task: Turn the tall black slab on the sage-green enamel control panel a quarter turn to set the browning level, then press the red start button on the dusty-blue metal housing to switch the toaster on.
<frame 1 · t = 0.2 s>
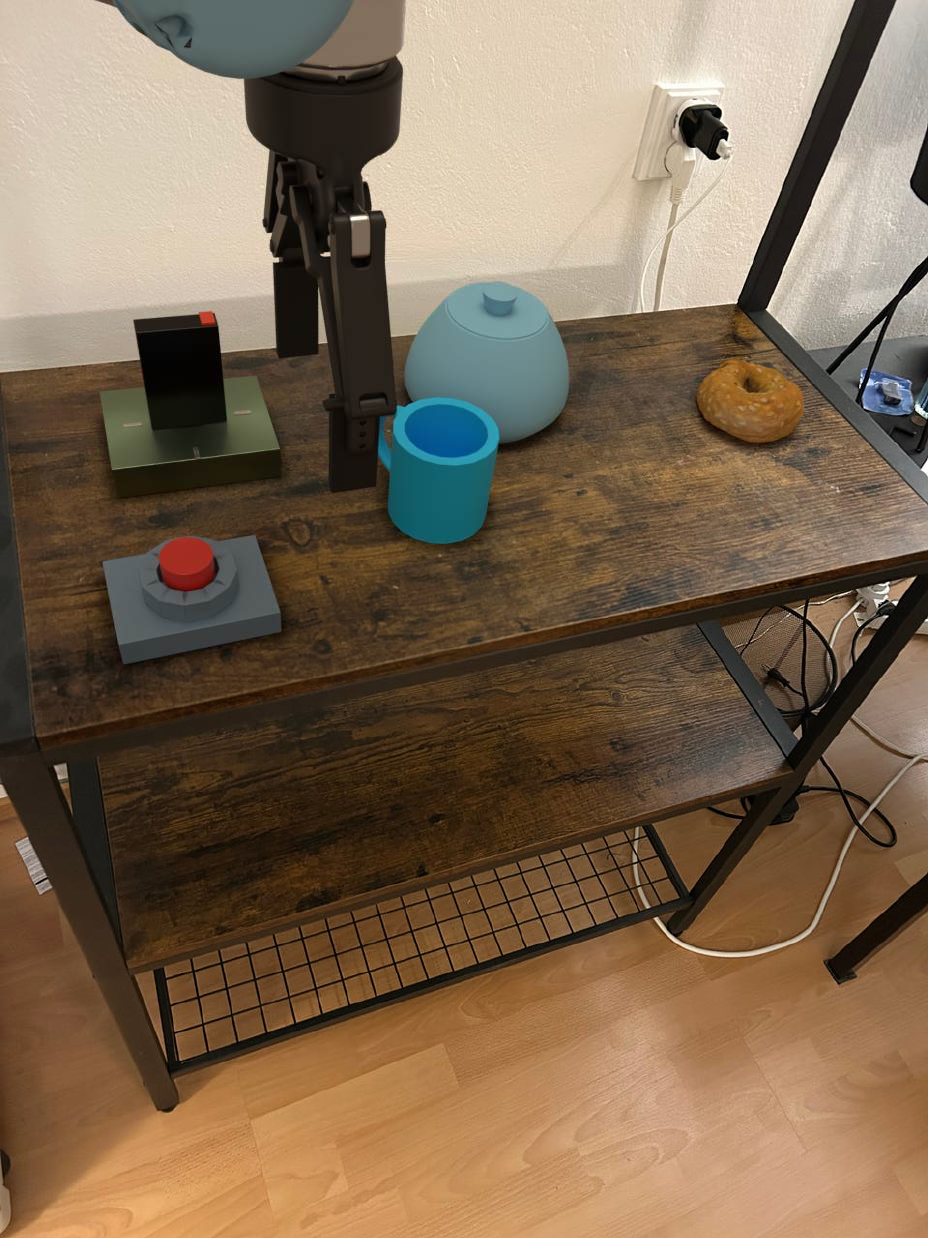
hand: (323, 415, 61), 16 cm above the table, tool pointing down, fingers open, 13 cm apart
black slab: (182, 371, 76), point 8 cm above the table, hinge at 0.0°
button housing: (193, 606, 70), on the table
dial panel: (192, 448, 82), on the table
bagel: (743, 416, 94), on the table
sugar bowl: (483, 403, 90), on the table
mug: (420, 498, 81), on the table
start button: (187, 564, 67), point 4 cm above the table, slide at 0.1 cm
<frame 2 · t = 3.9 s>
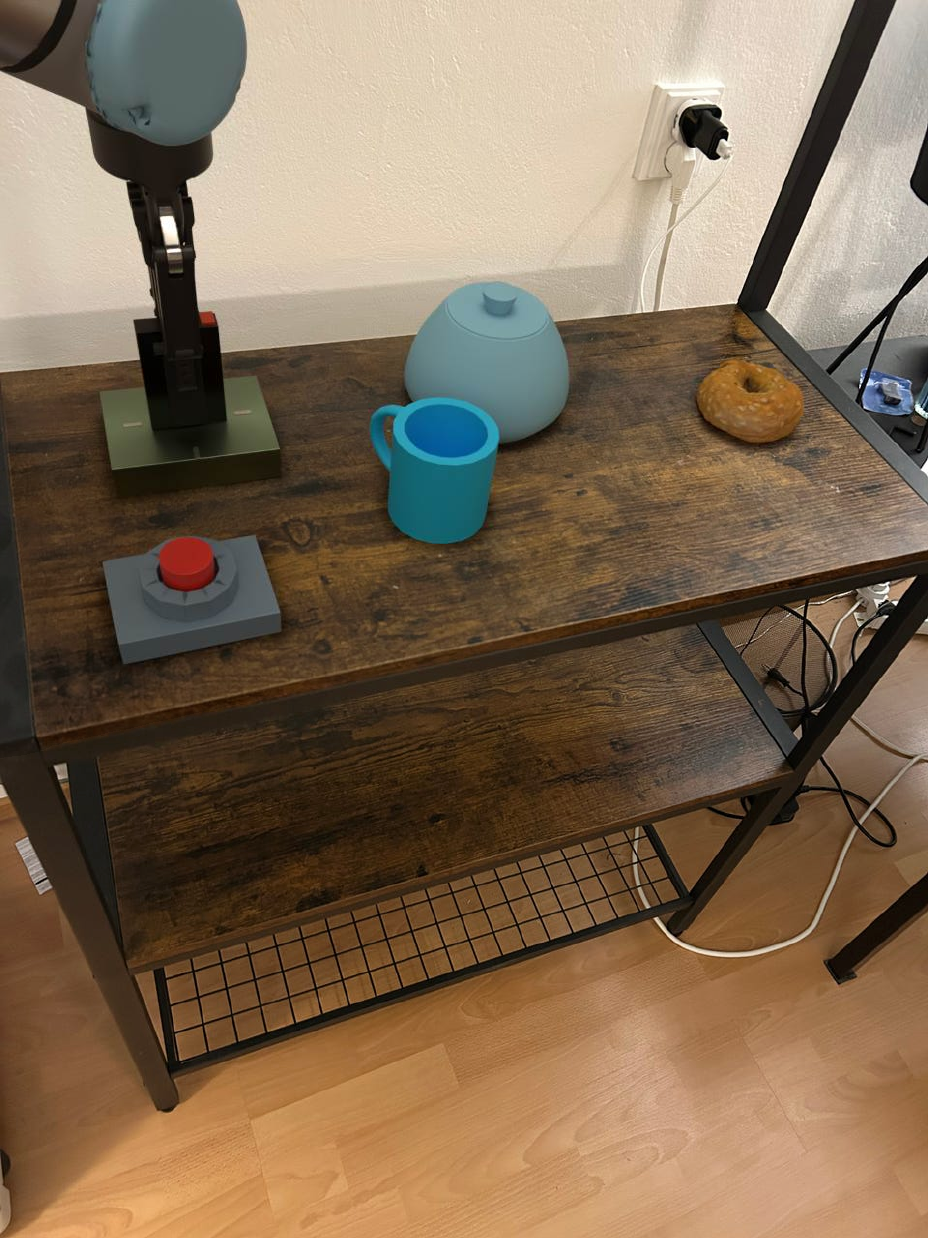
hand: (186, 404, 78), 4 cm above the table, tool pointing down, fingers closed on black slab, 2 cm apart
black slab: (182, 371, 76), point 8 cm above the table, hinge at 0.0°, touching gripper
everything else where it was.
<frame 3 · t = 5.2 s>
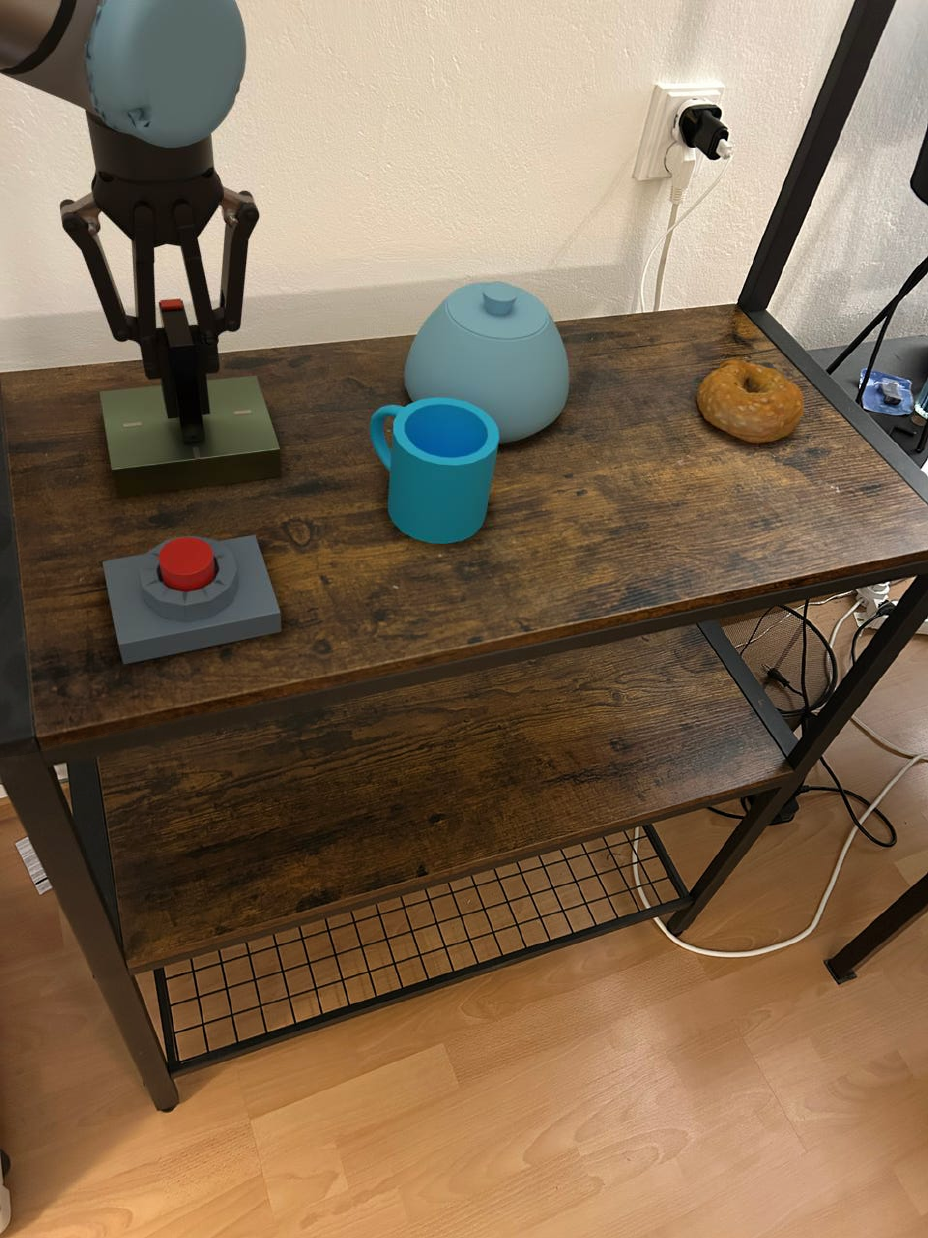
hand: (186, 405, 78), 4 cm above the table, tool pointing down, fingers closed on black slab, 2 cm apart
black slab: (182, 371, 76), point 8 cm above the table, hinge at 89.9°, touching gripper
everything else where it was.
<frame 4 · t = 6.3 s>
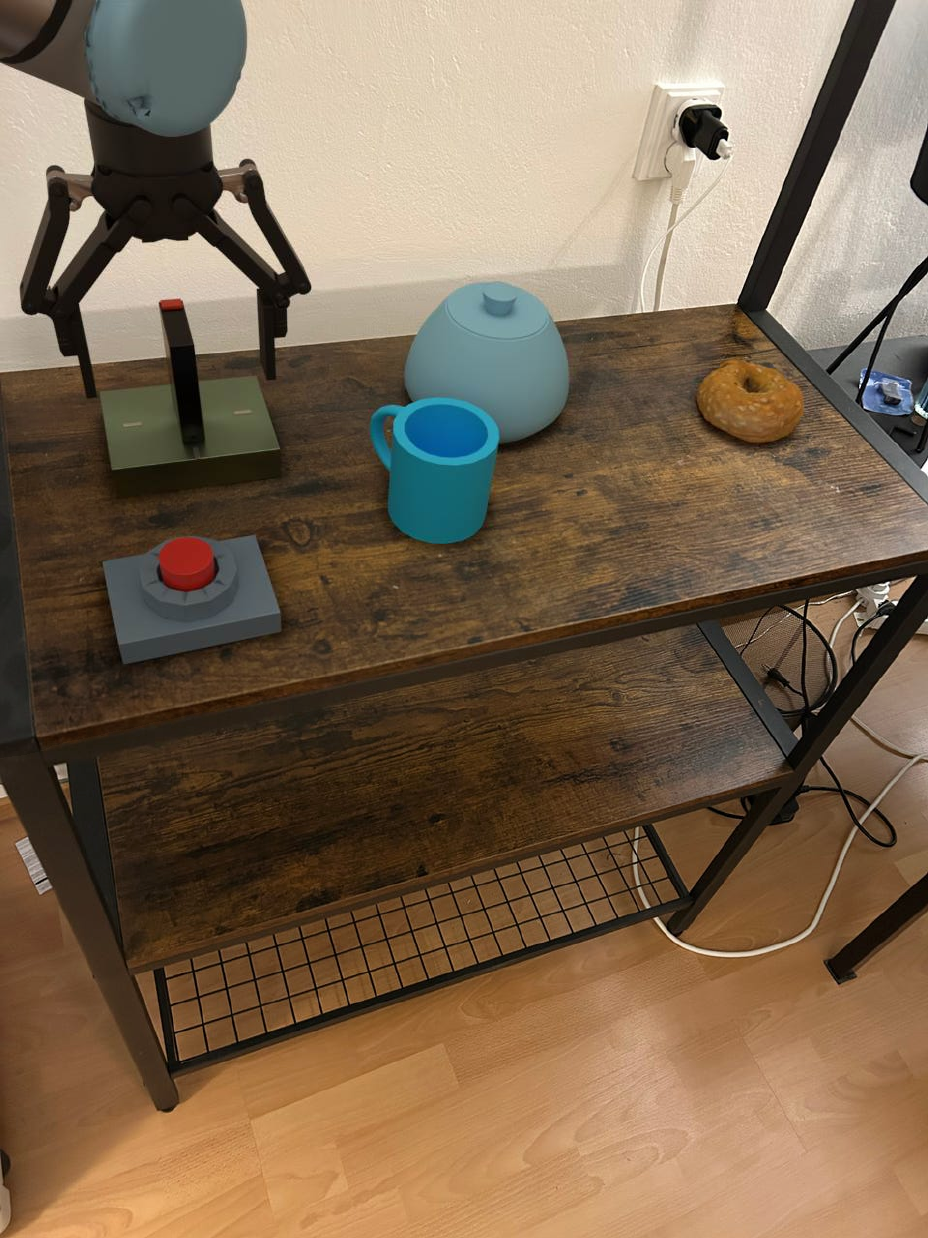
hand: (181, 379, 76), 7 cm above the table, tool pointing down, fingers open, 13 cm apart
black slab: (182, 371, 76), point 8 cm above the table, hinge at 89.9°
everything else where it was.
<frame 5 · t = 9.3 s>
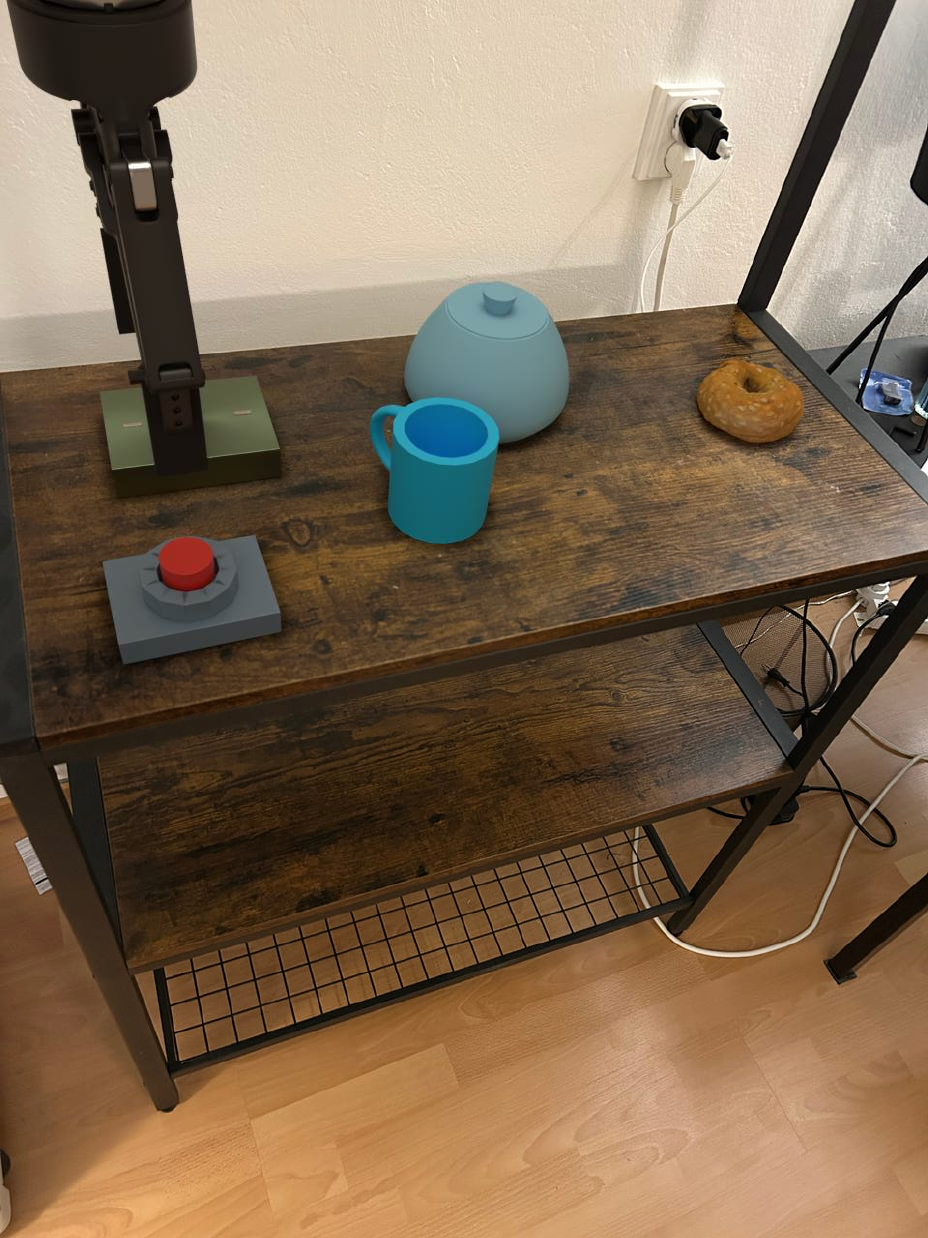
hand: (159, 394, 57), 19 cm above the table, tool pointing down, fingers open, 13 cm apart
nothing on the table moved.
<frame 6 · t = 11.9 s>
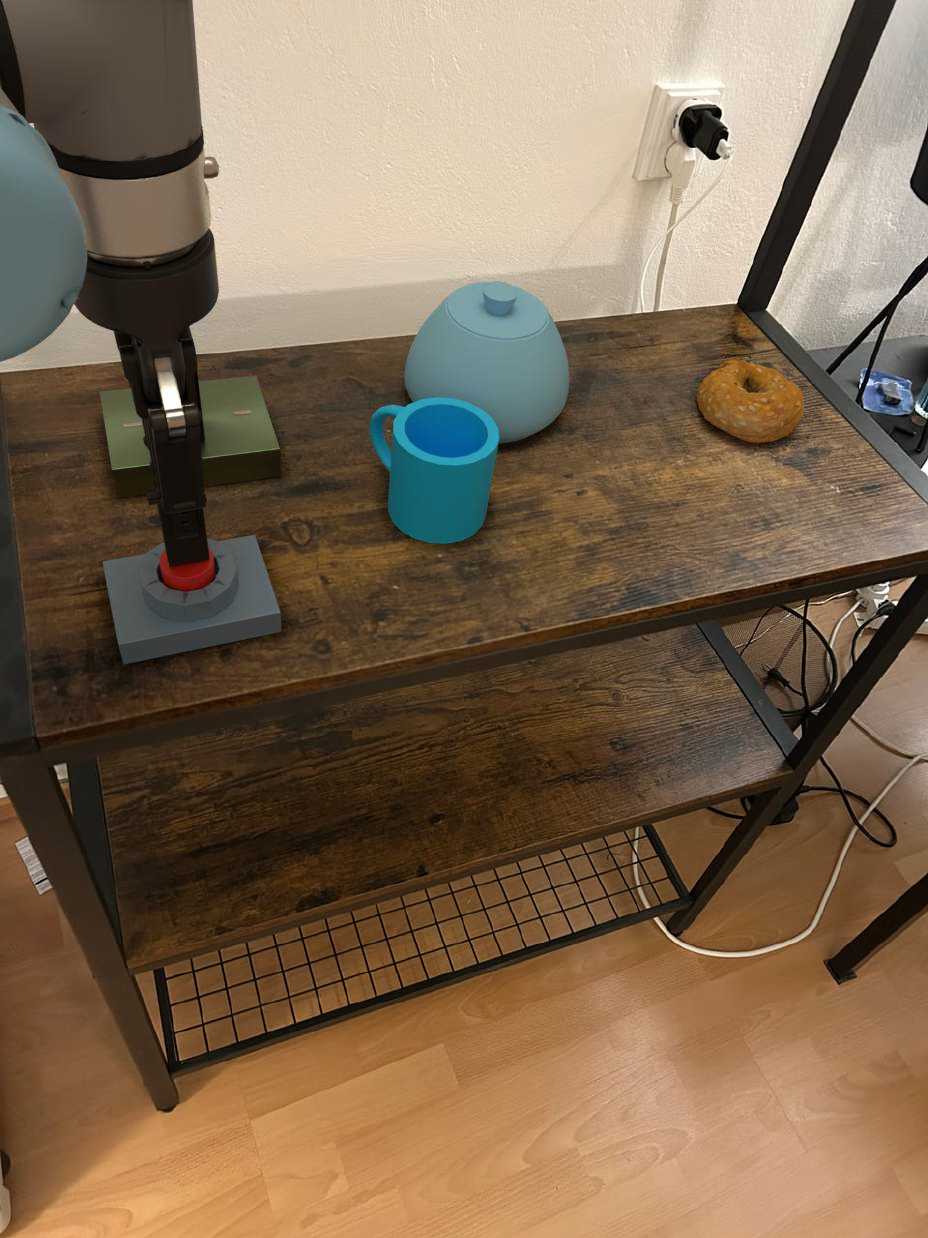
hand: (187, 555, 67), 5 cm above the table, tool pointing down, fingers closed
start button: (187, 567, 67), point 4 cm above the table, slide at -0.3 cm, touching gripper
everything else where it was.
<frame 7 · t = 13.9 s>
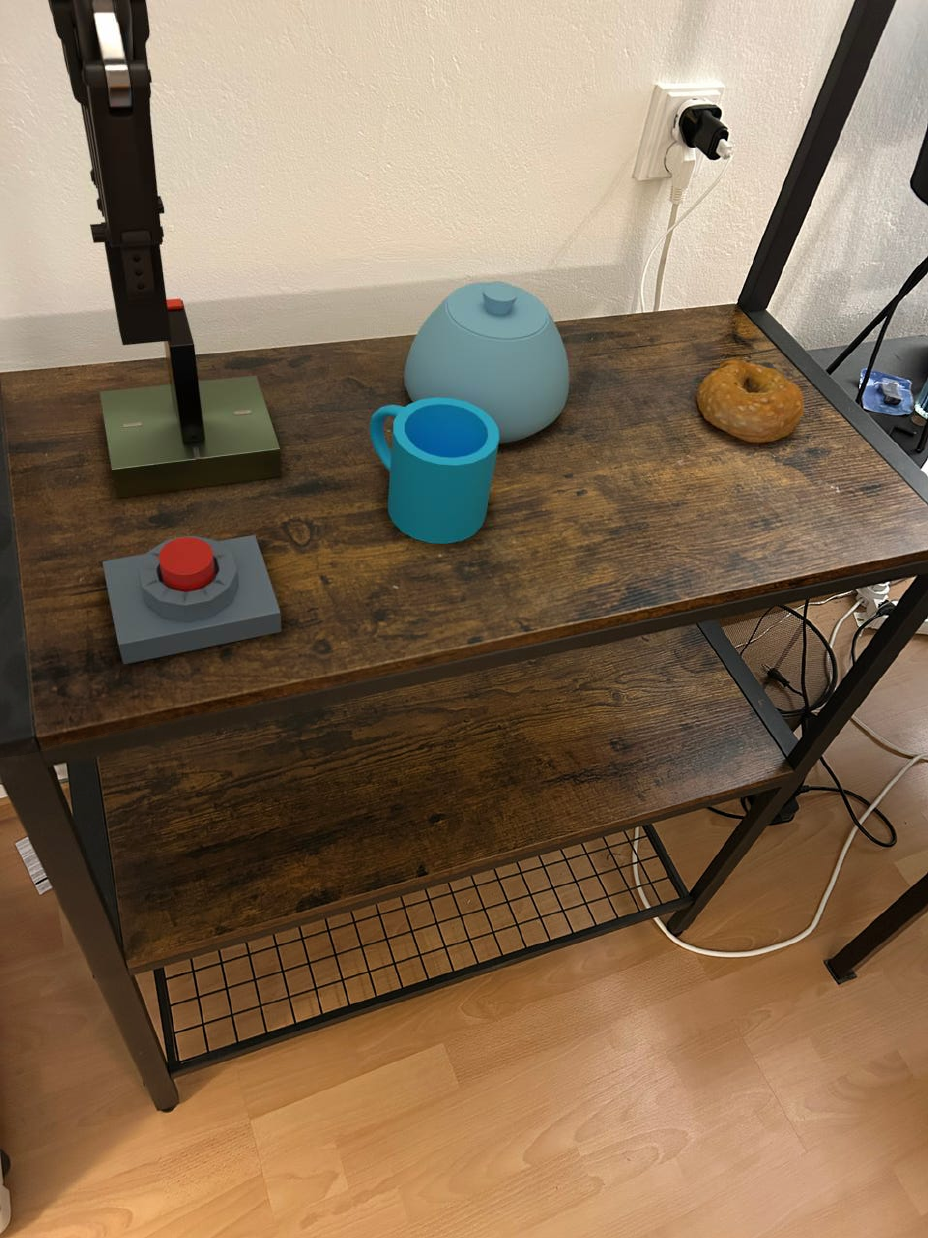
hand: (145, 335, 56), 21 cm above the table, tool pointing down, fingers closed
start button: (187, 564, 67), point 4 cm above the table, slide at 0.1 cm
everything else where it was.
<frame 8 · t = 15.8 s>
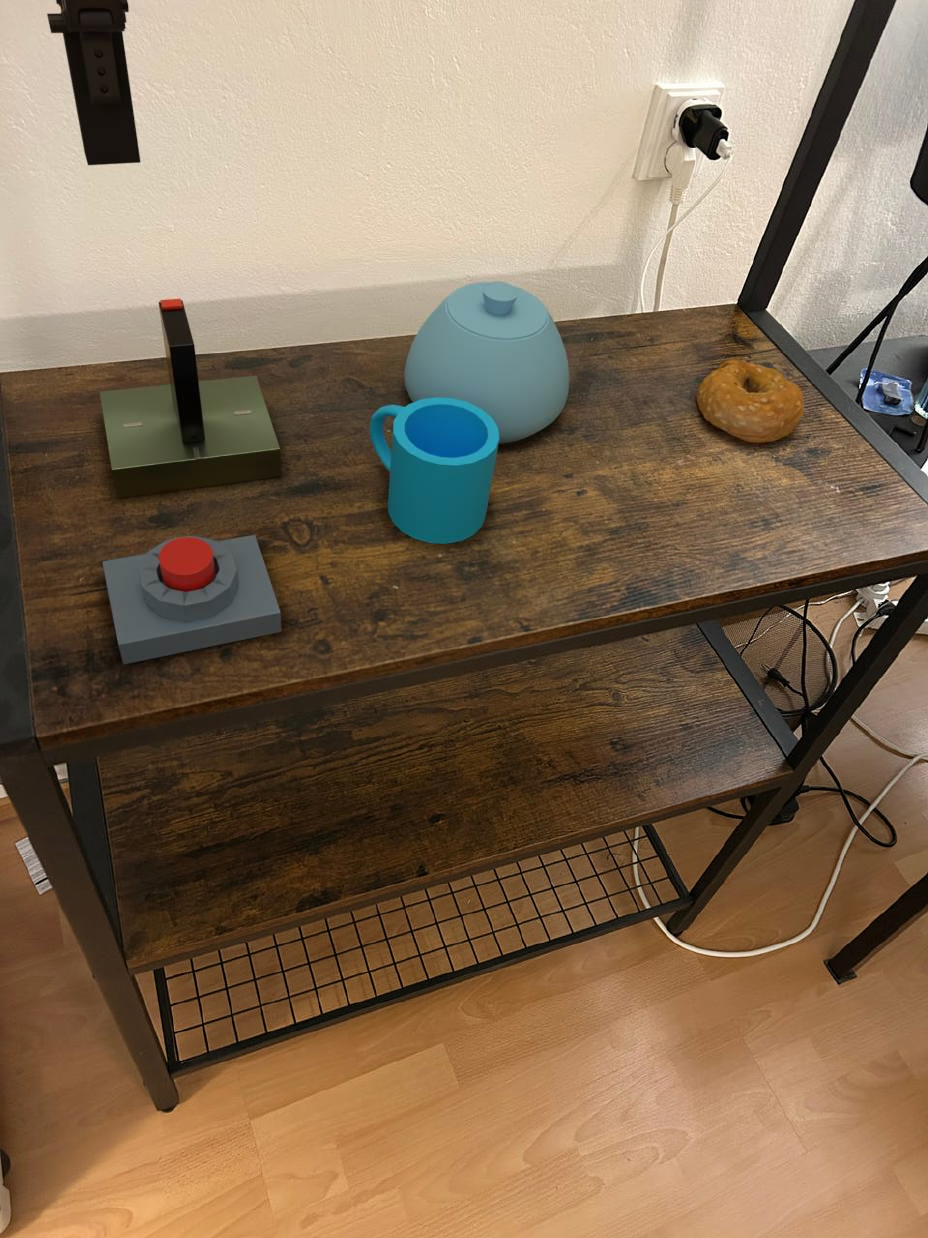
hand: (112, 156, 52), 29 cm above the table, tool pointing down, fingers closed
nothing on the table moved.
at the end: black slab at +90° (first picture: +0°); start button pushed in 1.0 cm at the most during the clip, back to where it started at the end; bagel moved 0.2 cm from its start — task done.
